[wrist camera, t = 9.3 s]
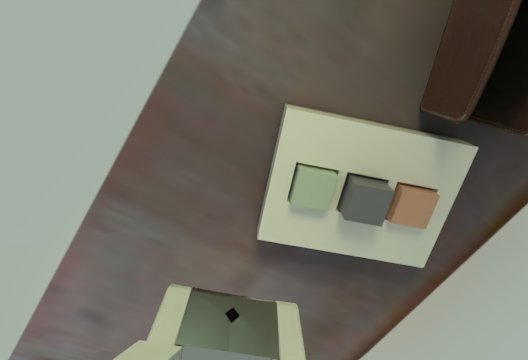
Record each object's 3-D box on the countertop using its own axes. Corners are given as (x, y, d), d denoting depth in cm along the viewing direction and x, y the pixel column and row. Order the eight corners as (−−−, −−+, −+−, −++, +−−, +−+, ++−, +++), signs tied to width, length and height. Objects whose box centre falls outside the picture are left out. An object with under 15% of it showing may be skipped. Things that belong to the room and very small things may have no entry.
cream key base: (284, 102, 35) (286, 107, 31) (459, 138, 36) (478, 147, 33) (257, 224, 40) (257, 239, 37) (410, 251, 41) (423, 267, 38)
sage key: (296, 159, 35) (299, 169, 32) (332, 166, 35) (338, 176, 33) (288, 193, 37) (290, 204, 34) (322, 199, 37) (327, 211, 34)
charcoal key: (348, 173, 34) (356, 184, 32) (384, 180, 35) (395, 191, 32) (337, 206, 36) (344, 219, 33) (372, 213, 36) (381, 226, 33)
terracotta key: (392, 178, 36) (403, 189, 33) (426, 185, 36) (440, 196, 34) (380, 210, 37) (390, 222, 35) (413, 216, 38) (425, 229, 35)
